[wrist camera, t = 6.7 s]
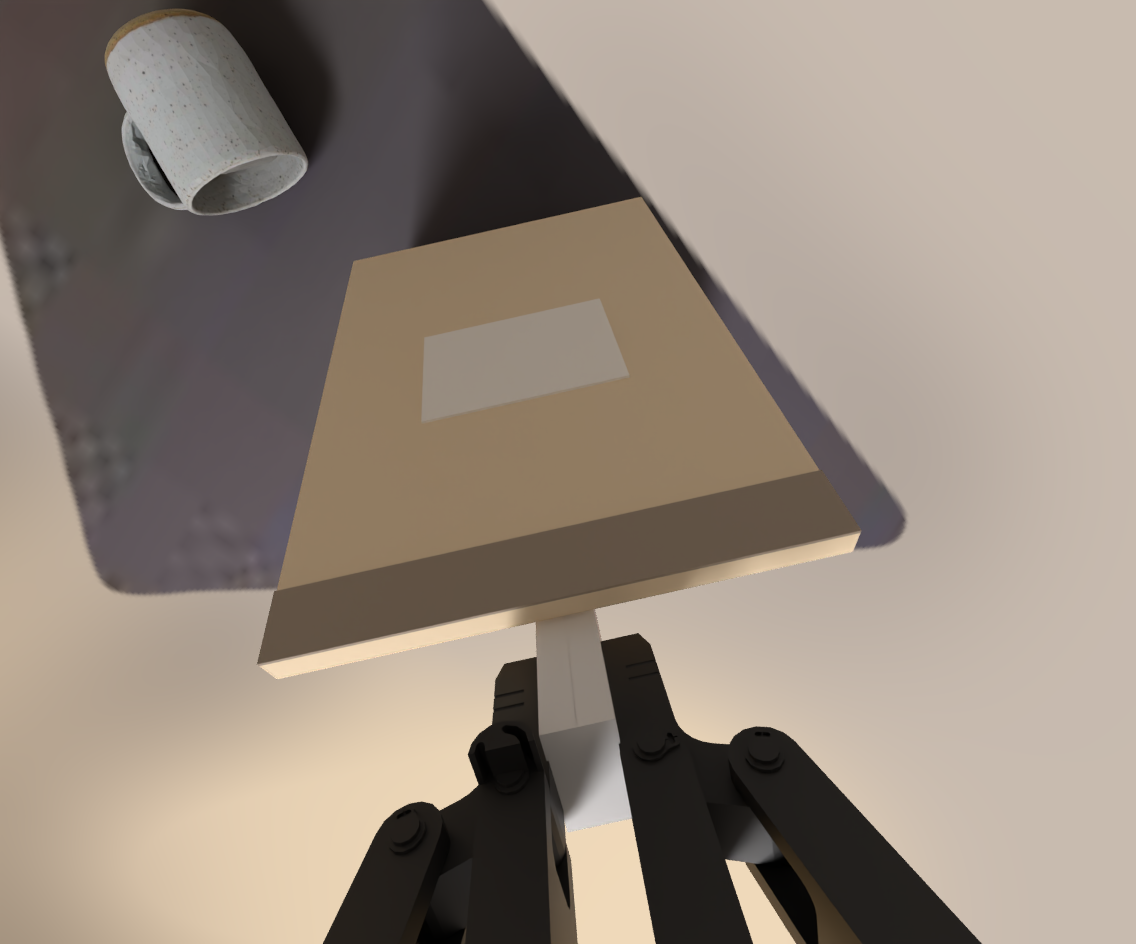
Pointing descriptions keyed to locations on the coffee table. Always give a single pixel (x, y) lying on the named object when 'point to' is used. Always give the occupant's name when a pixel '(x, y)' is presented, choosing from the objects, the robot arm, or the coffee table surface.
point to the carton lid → (534, 445)
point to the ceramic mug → (199, 115)
